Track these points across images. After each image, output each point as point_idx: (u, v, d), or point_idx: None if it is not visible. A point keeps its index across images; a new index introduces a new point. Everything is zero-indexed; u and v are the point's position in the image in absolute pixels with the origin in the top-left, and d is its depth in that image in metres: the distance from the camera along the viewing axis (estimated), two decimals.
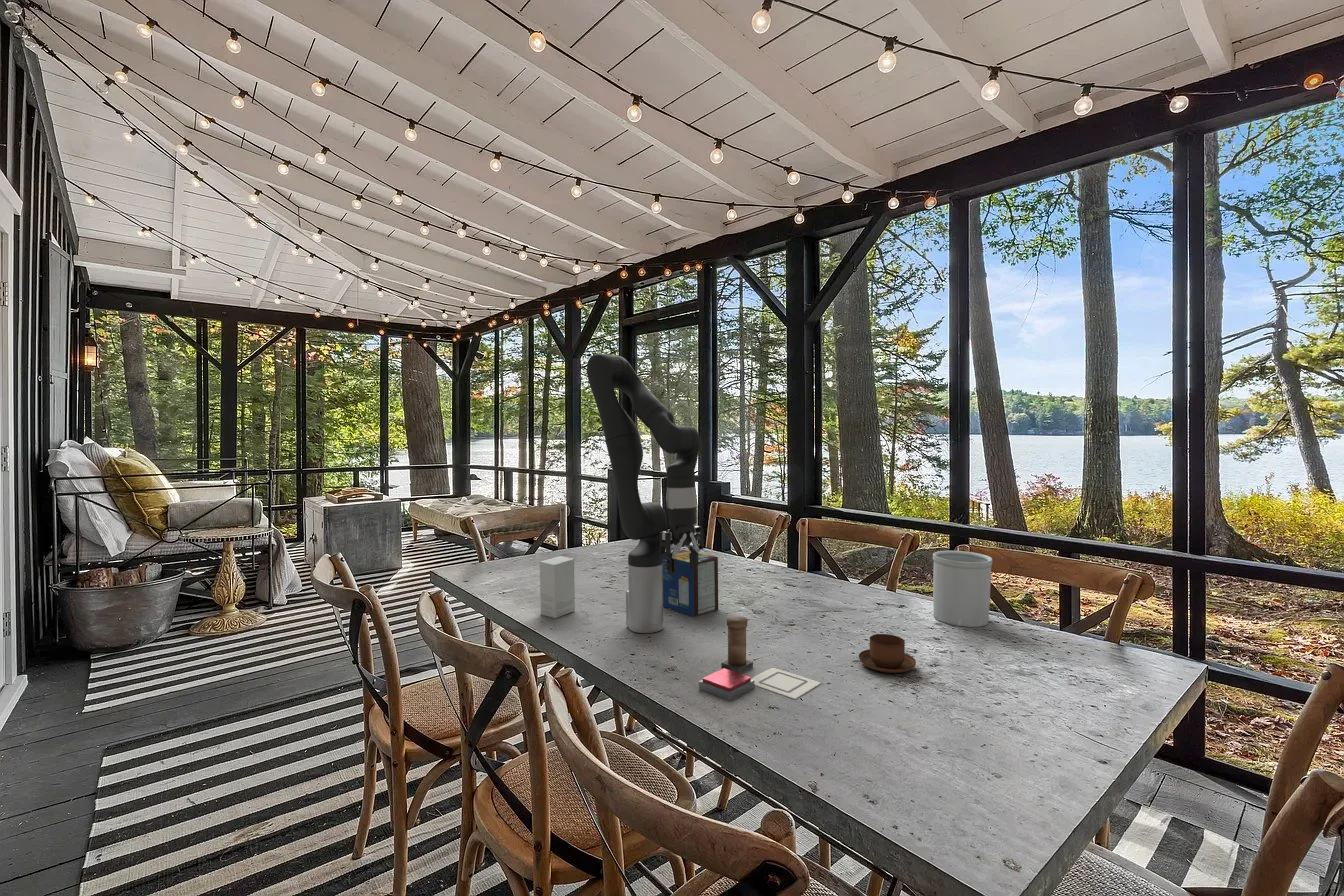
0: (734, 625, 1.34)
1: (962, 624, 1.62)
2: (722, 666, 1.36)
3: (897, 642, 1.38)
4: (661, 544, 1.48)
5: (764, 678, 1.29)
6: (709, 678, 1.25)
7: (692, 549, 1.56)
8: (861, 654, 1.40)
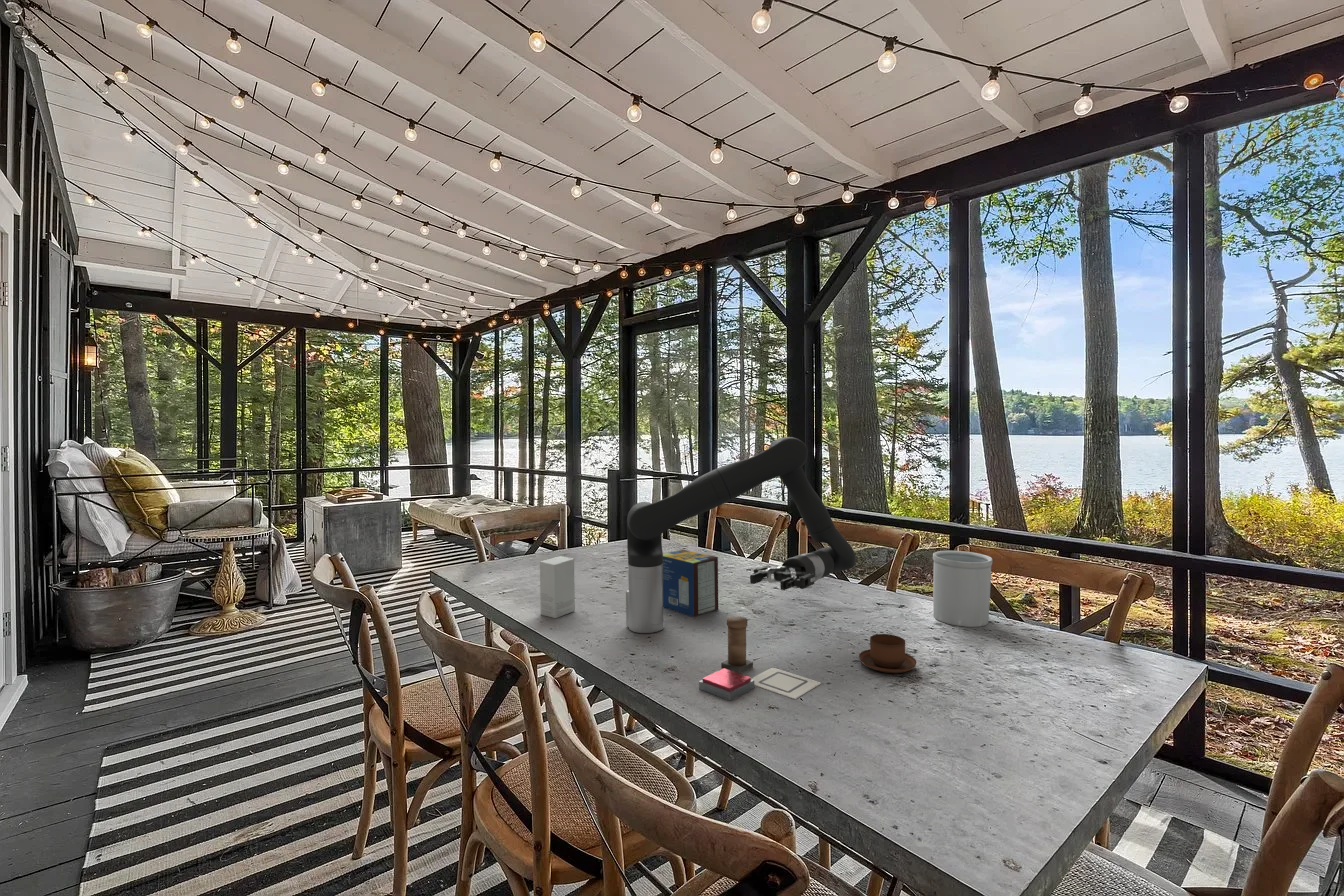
0: (734, 625, 1.34)
1: (962, 624, 1.62)
2: (722, 666, 1.36)
3: (898, 642, 1.38)
4: (809, 578, 1.44)
5: (764, 678, 1.29)
6: (709, 678, 1.25)
7: (762, 574, 1.50)
8: (861, 654, 1.40)
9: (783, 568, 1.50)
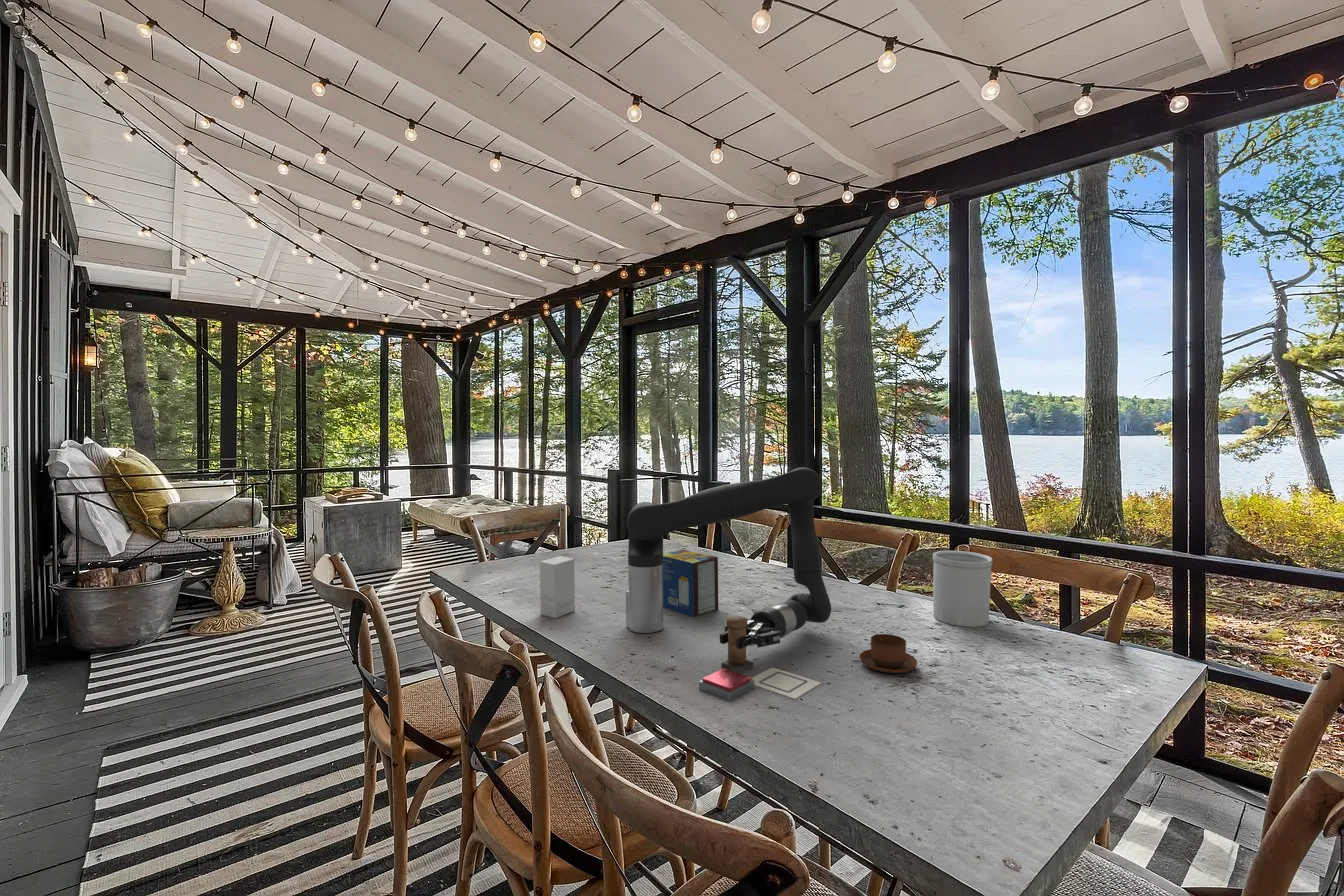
0: (734, 625, 1.34)
1: (962, 624, 1.62)
2: (722, 666, 1.36)
3: (898, 642, 1.38)
4: (770, 636, 1.35)
5: (764, 678, 1.29)
6: (709, 678, 1.25)
7: None
8: (862, 654, 1.39)
9: (752, 623, 1.41)
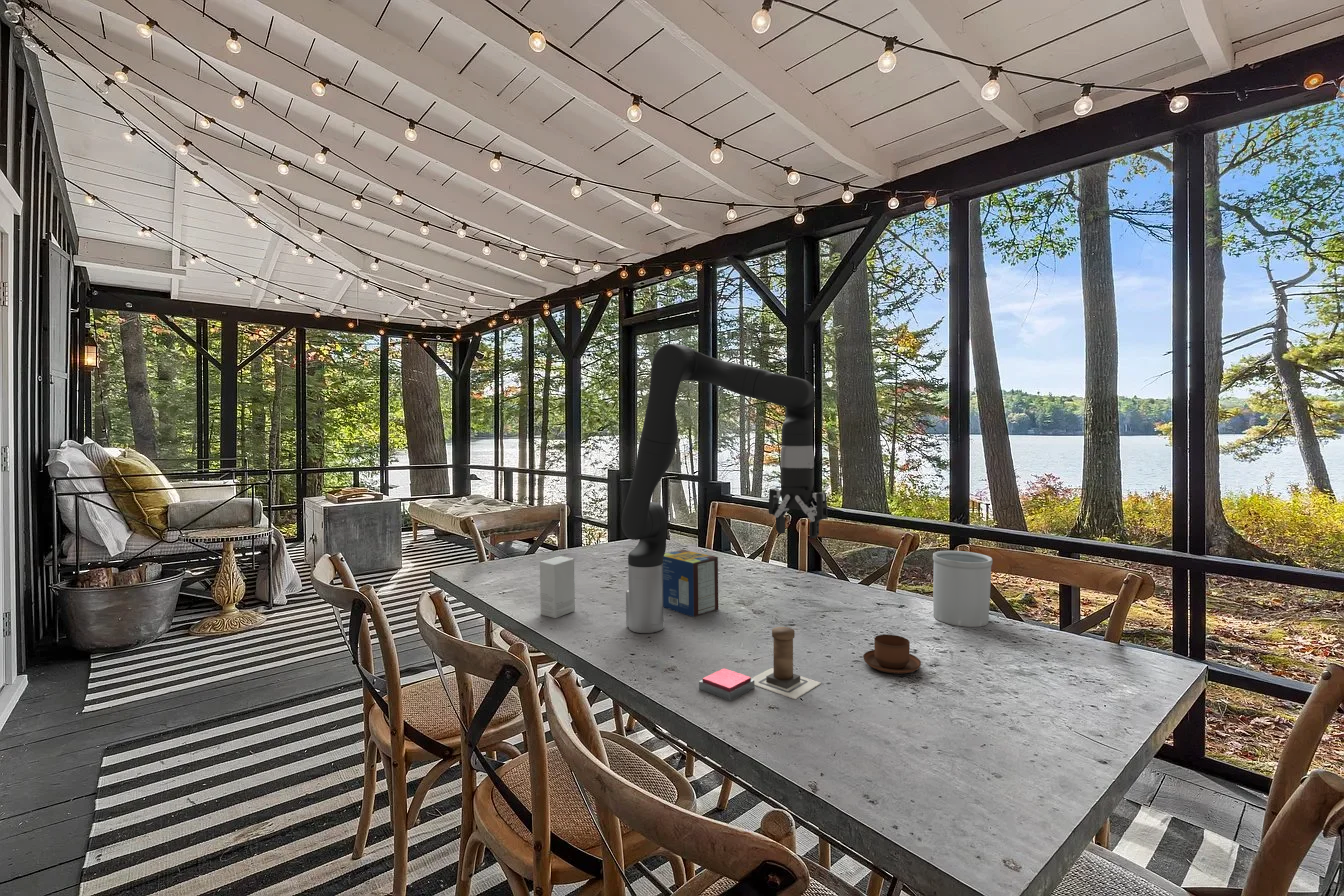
0: (781, 637, 1.25)
1: (962, 624, 1.62)
2: (767, 680, 1.28)
3: (902, 642, 1.38)
4: (822, 506, 1.36)
5: (764, 678, 1.29)
6: (709, 678, 1.25)
7: None
8: (866, 655, 1.39)
9: (790, 498, 1.41)
